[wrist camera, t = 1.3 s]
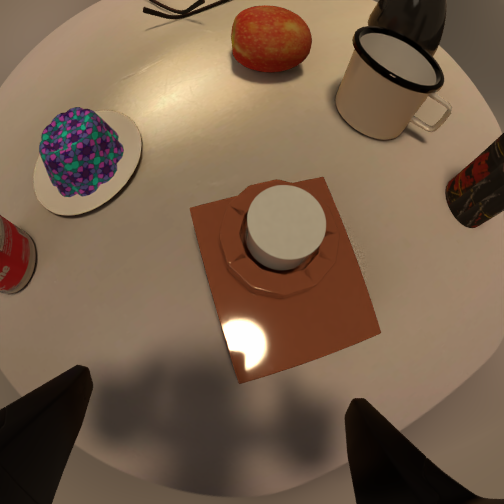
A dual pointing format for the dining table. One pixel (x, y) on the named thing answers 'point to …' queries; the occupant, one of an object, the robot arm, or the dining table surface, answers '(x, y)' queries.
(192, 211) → the button housing
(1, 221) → the pill bottle
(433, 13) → the pump dispenser
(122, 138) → the pudding
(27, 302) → the dining table surface
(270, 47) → the apple
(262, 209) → the white cylinder
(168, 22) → the dining table surface
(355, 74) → the mug
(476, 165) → the deodorant
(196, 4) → the sunglasses
